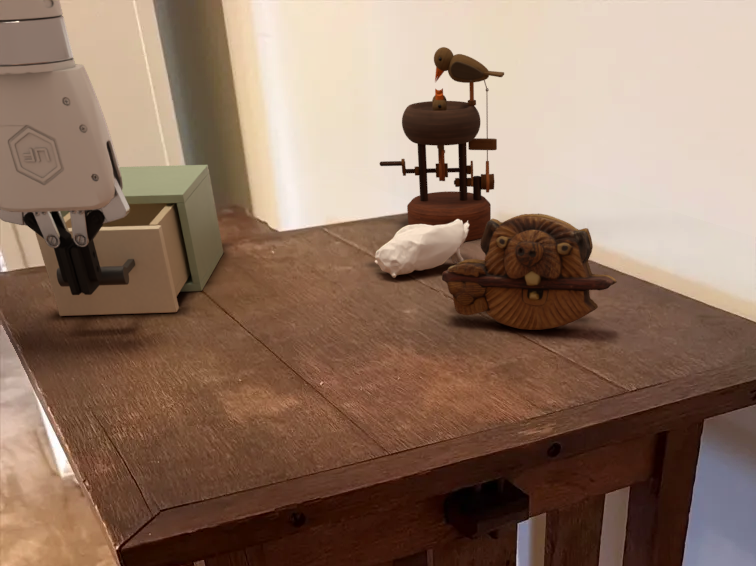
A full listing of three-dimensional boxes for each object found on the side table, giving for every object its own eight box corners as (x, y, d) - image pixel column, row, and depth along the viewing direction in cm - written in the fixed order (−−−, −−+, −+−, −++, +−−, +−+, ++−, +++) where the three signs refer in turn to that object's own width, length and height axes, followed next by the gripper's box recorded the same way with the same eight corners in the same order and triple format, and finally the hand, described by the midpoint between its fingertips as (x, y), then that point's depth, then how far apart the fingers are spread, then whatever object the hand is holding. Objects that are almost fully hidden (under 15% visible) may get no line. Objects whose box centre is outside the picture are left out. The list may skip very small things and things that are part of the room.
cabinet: (201, 291, 98) (182, 194, 92) (83, 294, 98) (56, 197, 92) (223, 253, 110) (207, 164, 104) (117, 256, 109) (95, 167, 103)
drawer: (166, 329, 86) (146, 243, 81) (43, 334, 86) (16, 246, 81) (201, 271, 101) (186, 194, 96) (96, 274, 100) (76, 197, 96)
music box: (492, 216, 122) (495, 39, 108) (510, 246, 114) (516, 58, 100) (378, 223, 119) (367, 43, 106) (389, 253, 111) (377, 63, 98)
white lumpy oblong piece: (440, 270, 107) (365, 262, 102) (457, 211, 103) (379, 199, 98) (461, 289, 105) (385, 282, 99) (479, 229, 101) (400, 218, 95)
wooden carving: (438, 330, 88) (434, 219, 82) (450, 315, 91) (446, 207, 85) (609, 342, 85) (618, 227, 79) (615, 325, 88) (623, 214, 82)
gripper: (-102, 54, 67) (-14, 307, 78) (104, 49, 68) (161, 301, 79) (-60, 44, 73) (16, 280, 84) (129, 39, 74) (179, 275, 85)
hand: (86, 289), depth 82 cm, fingers closed
